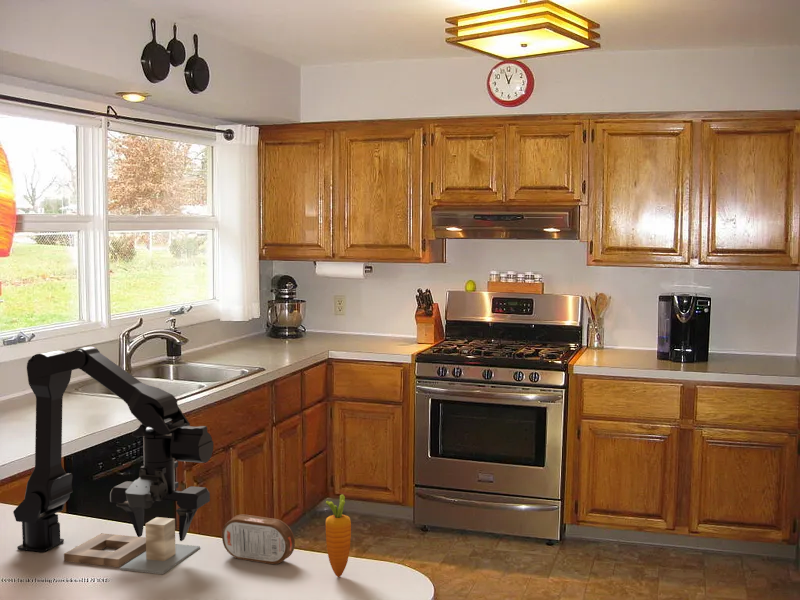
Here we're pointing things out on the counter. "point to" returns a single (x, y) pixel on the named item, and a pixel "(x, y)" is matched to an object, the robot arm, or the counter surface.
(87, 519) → the counter surface
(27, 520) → the robot arm
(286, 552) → the tin
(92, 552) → the pocket board
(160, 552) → the block
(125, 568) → the mat
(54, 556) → the counter surface
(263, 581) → the counter surface
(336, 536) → the carrot
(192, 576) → the counter surface
